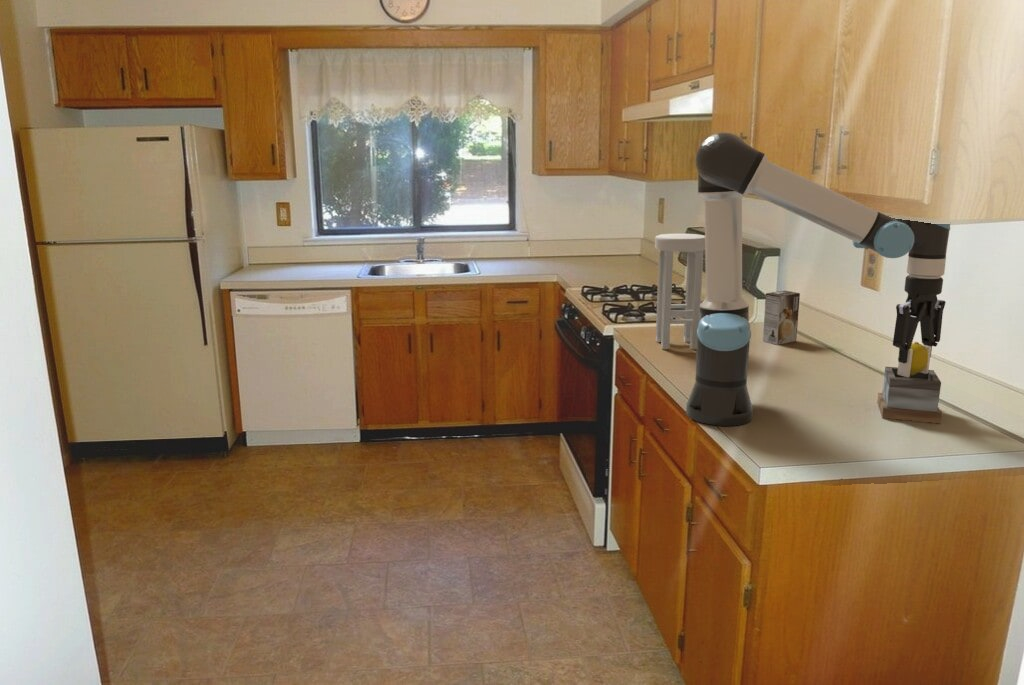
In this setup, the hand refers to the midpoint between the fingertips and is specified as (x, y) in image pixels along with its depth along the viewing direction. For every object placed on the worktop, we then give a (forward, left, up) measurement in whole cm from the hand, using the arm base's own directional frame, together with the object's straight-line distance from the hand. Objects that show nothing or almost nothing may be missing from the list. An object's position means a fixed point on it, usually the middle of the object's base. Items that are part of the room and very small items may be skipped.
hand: (912, 373), depth 177 cm
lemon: (0, 0, -1) cm, 1 cm away
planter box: (0, 0, -10) cm, 10 cm away
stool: (+48, +61, -10) cm, 78 cm away
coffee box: (+63, +30, -10) cm, 70 cm away
